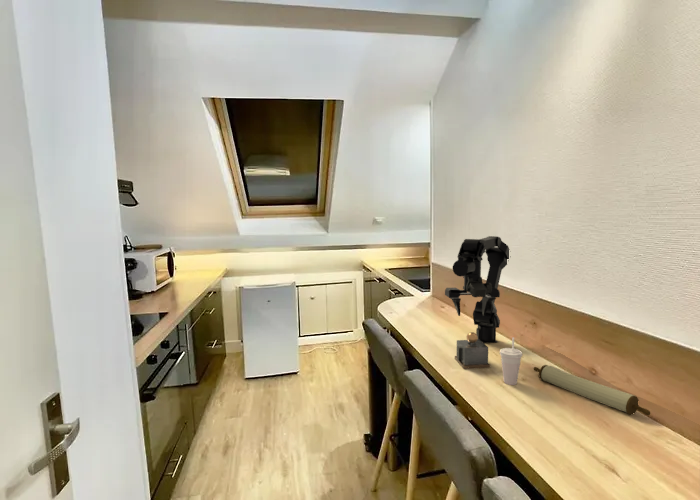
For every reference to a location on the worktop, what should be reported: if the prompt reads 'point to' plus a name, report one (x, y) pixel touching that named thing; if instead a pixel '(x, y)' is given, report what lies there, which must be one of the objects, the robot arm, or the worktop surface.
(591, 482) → the worktop surface
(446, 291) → the robot arm
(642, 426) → the worktop surface
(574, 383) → the rolling pin
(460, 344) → the copper ball lever box
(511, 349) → the smoothie
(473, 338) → the copper ball knob
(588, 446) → the worktop surface
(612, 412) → the worktop surface
